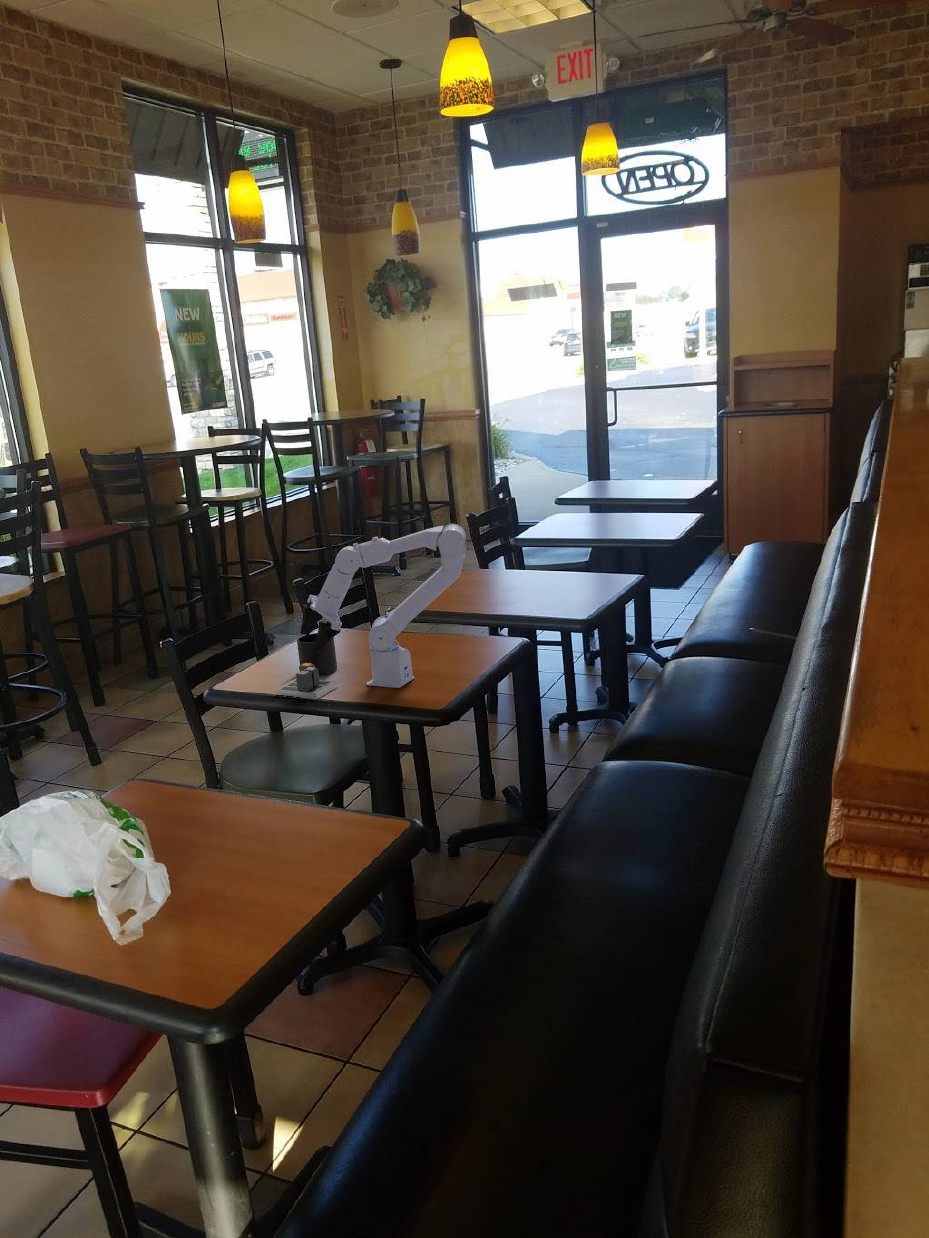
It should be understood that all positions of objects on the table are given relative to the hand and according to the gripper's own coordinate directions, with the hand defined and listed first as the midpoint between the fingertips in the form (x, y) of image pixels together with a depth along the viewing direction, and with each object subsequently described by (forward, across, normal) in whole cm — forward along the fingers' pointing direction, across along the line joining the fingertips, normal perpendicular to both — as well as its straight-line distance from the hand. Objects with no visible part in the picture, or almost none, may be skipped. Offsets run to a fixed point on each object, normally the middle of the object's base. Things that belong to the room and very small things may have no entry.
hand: (310, 641), depth 233 cm
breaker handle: (+9, +3, +2) cm, 10 cm away
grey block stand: (+11, +5, +1) cm, 12 cm away
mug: (+11, -8, +12) cm, 18 cm away
